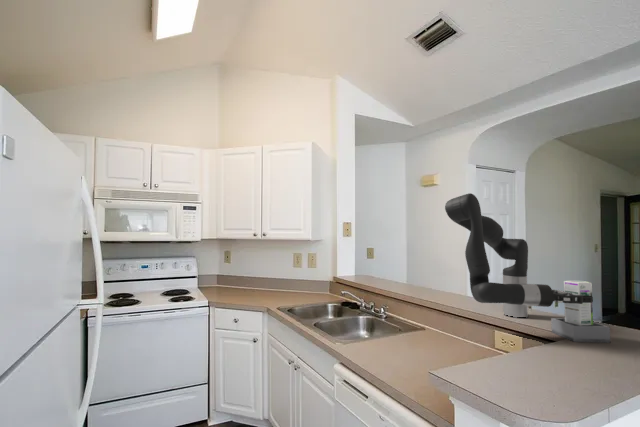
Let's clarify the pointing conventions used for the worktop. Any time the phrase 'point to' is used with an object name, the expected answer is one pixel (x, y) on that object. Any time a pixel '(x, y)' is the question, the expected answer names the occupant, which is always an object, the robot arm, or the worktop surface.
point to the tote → (581, 331)
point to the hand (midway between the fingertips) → (584, 297)
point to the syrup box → (578, 312)
